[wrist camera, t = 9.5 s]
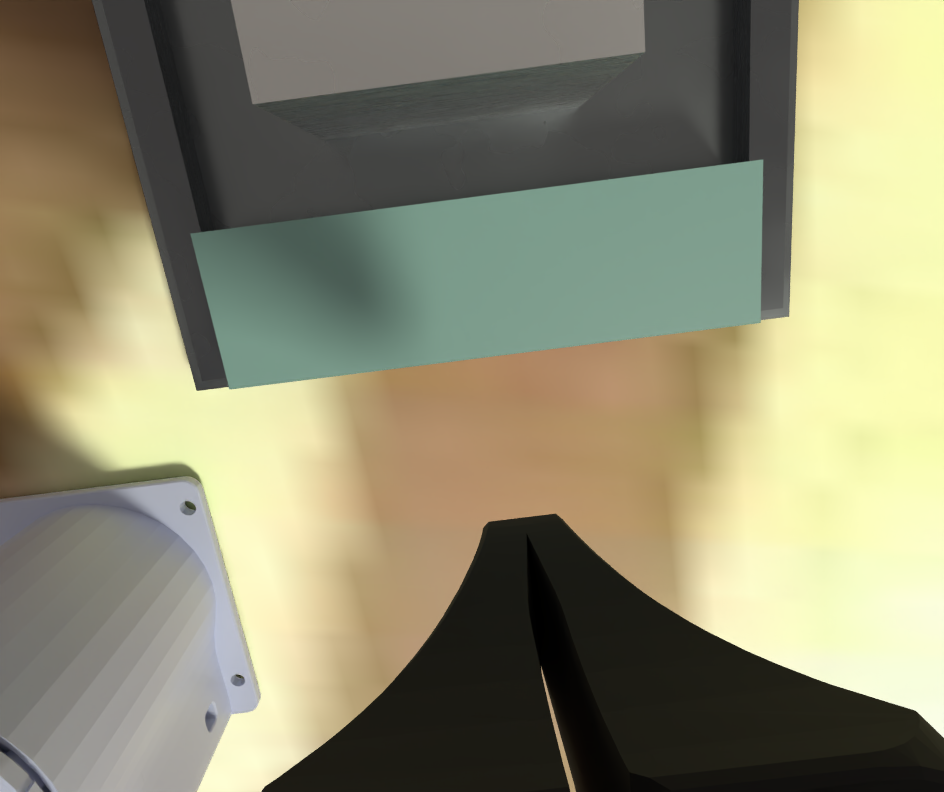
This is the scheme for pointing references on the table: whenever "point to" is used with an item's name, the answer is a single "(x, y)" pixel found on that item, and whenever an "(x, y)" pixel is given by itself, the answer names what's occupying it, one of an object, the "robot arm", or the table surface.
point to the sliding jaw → (486, 275)
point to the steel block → (429, 58)
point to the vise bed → (441, 135)
